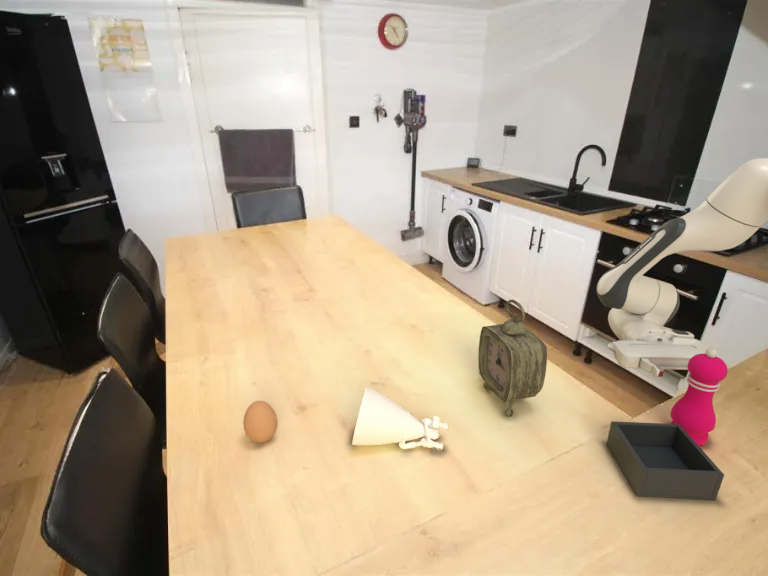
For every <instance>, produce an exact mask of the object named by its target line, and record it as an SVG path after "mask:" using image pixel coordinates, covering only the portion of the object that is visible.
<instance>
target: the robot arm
mask: <svg viewBox="0 0 768 576" xmlns="http://www.w3.org/2000/svg"><path fill="white" fill-rule="evenodd" d="M767 221H768V157H758V158H752V159H749V160H747V161H745V162H744V163H742V164H741V165H739V167H737V168H736V169H735V170H733V172H731V173H730V174H729V175H728V176H727V177H726V178H724V179H723V181H721V182H720V183H719V184H718V185H717V186H716V188H714V189H713V190H712V191H711V193H710V194H709V195H708V196H707V197H706V198H705V199H704V200H703V201H702V202H701V203H700V204H699V205H697V206H696V207H695V208H693V209H692V210H691V211H689V212H687V213H686V214H683V215H681V216H680V217H676V218H672V219H669V220H668V221H666V222H664V223H663V224H662V225H661V226H659V227H658V228H657V229H655V231H653V232H652V233H651V234H650V235H649V236H648V237H647V238H646V239H644V240H643V241H642V242H641V243H640V244H639V245H638V246H637V247H635V248H634V249H633V250H632V251H631V252H630V253H629V254H628V255H627V256H626V257H624V258H623V259H621V261H620V262H619V263H618V264H616V265H615V266H613V267H612V268H610V269H609V270H607V271H605V273H603V274H602V276H600V278H599V279H598V281H597V284H596V289H595V291H596V295H597V297H598V299H599V301H600V302H601V303H602V305H603V306H604V307H606V308H611V309H610V310H609V312H608V315H607V322H608V325H609V327H610V329H611V331H612V332H613V334H614V335H615V336H616V338H618V339H619V340H613V341H611V342H608V343H607V348H608V349H609V351H611V352H613V357H614V359H615V360H616V363H618V366H619V367H622V368H625V369H639V370H640V369H641V370H643V371H645V372H647V373H650V374H652V376H653V377H656V378H662V377H664V374H665V370H681V371H689V370H688V362H689V360H690V359H691V358H692V357H693V356H694V355H697V354H702V353H703V354H706V350H707V349H710V348H711V346H709V345H708V344H706V343H704V342H703V341H701V340H699V339H697V338H695V334H693V333H692V332H691V331H686V330H681V329H674V328H669V327H666V325H667V324H668V323H670V321H671V320H672V319H673V318H674V317H675V316H676V314H677V313H678V310H679V308H680V305H681V304H680V303H681V301H680V294H679V291H678V289H677V287H676V286H675V285H673V284H672V283H669V282H666V281H662V280H660V279H656V278H653V277H649V276H645V275H644V274H646V273H647V272H648V271H649V270H650V269H652V268H653V267H654V266H656V264H658V263H659V262H660V261H661V260H662V259H663V258H665V257H667V256H670V255H673V254H677V253H684V252H720V251H721V252H722V251H726V250H730V249H733V248H736V247H738V246H739V245H741V244H743V243H744V242H746V241H747V240H748V239H750V238H751V237H752V236H753V235H754V234H755V233H756V232H757V231H758V230H759V229H760V228H762V226H763V225H765V223H766V222H767ZM717 357H719V358H720V359H721V357H720V354H719V353H718V355H717Z"/></svg>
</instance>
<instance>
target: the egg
mask: <svg viewBox="0 0 768 576" xmlns="http://www.w3.org/2000/svg"><path fill="white" fill-rule="evenodd" d="M242 422H243V430H244V433H245V435H246V436H247V438H248V439H249V440H251V441H253V442H254V443H265V442H268V441H269V440H271V439H272V437H273V436H274V435H275V433H276V431H277V427H278V417H277V414H276V411H275V409H274V408H273V407H272V405H270V404H269V403H268V402H267V401H264V400H256V401H253V402H252V403H251V404H249V405H248V406H247V409H246V410H245V412H244V416H243V420H242Z"/></svg>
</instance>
